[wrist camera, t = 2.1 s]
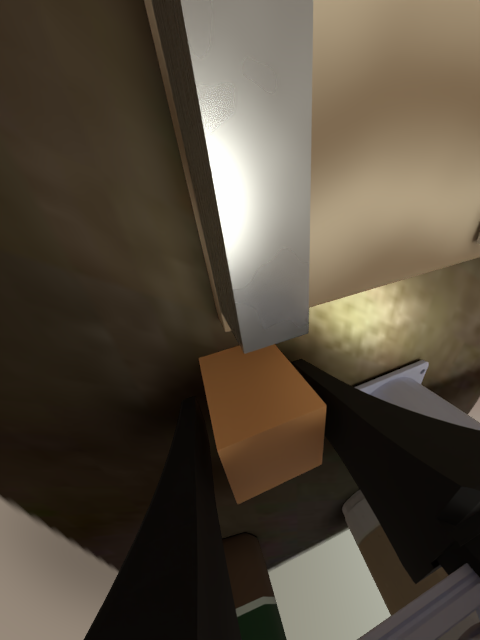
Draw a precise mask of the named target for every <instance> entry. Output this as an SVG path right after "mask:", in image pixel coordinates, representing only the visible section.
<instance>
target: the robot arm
mask: <svg viewBox="0 0 480 640" xmlns="http://www.w3.org/2000/svg"><path fill="white" fill-rule="evenodd" d="M292 365H293V366H294V367H295V369H296V370H297V371H298V372H299V373H300V375H301V376H302V377H303V378H304V379H305V380H306V382H307V383H308V384H309V385H310V386H311V387H312V389H313V390H314V391H315V392H316V393H317V394H318V396H319V397H320V398H321V399H322V400H323V402H324V403H325V404H326V405H327V408H326V420H325V432H324V435H325V436H326V438H327V439H328V440H329V442H330V443H331V444H332V446H333V447H334V449H335V450H336V451H337V453H338V455H339V456H340V458H341V459H342V461H343V463H344V464H345V466H346V467H347V469H348V470H349V472H350V474H351V475H352V477H353V479H354V480H355V482H356V484H357V485H358V487H359V489H360V490H361V492H362V494H363V495H364V497H365V499H366V500H367V502H368V504H369V506H370V507H371V509H372V511H373V513H374V514H375V516H376V518H377V519H378V521H379V523H380V525H381V527H382V528H383V530H384V532H385V534H386V536H387V538H388V539H389V541H390V543H391V545H392V547H393V548H394V550H395V552H396V554H397V556H398V558H399V560H400V562H401V563H402V565H403V567H404V568H405V570H406V571H407V573H408V574H409V576H410V577H411V579H412V580H413V582H414V583H415V584H417V583H418V582H420V581H421V580H423V579H424V578H426V577H427V576H429V575H430V574H432V573H433V572H435V571H436V570H438V569H439V568H440V567H442V568H443V569H444V570H445V571H446V573H447V574H448V575H449V576H447V577H446V578H444V579H443V580H442V581H440V582H439V583H437V584H436V585H434V586H433V587H432V588H430V589H429V590H427V591H426V592H424V593H423V594H422V595H420V596H419V597H417V598H416V599H414V600H413V601H412V602H410V603H409V604H407V605H406V606H404V607H403V608H402V609H400V610H399V611H397V612H396V613H394V614H393V615H392V616H390V617H389V618H388V619H386V620H385V621H383V622H382V623H380V624H379V625H377V626H376V627H374V628H373V629H372V630H370V631H369V632H367V633H366V634H364V635H363V636H362V637H360V638H359V639H357V640H437V639H439V638H440V637H441V636H443V635H444V634H445V633H447V632H448V631H449V630H450V629H452V628H453V627H454V626H456V625H457V624H458V623H459V622H461V621H462V620H463V619H465V618H466V617H467V616H469V615H470V614H471V613H472V612H474V611H475V610H476V613H477V616H478V618H479V621H480V423H479V422H478V421H476V420H475V419H473V418H472V417H470V416H469V415H467V414H466V413H464V412H463V411H461V410H459V409H458V408H456V407H455V406H453V405H452V404H450V403H449V402H447V401H446V400H444V399H443V398H441V397H439V396H438V395H436V394H435V393H433V392H432V391H430V390H429V389H427V388H426V387H424V386H423V385H421V383H422V380H423V378H424V375H425V373H426V370H427V368H428V365H429V364H428V362H426V361H425V360H420V361H418V362H416V363H413V364H411V365H408V366H406V367H403V368H401V369H398V370H396V371H393V372H391V373H388V374H386V375H383V376H381V377H378V378H376V379H374V380H371V381H369V382H366V383H364V384H361V385H359V386H356V387H352V386H350V385H348V384H346V383H344V382H342V381H340V380H339V379H337V378H335V377H333V376H331V375H329V374H327V373H326V372H324V371H322V370H320V369H319V368H317V367H315V366H313V365H312V364H310V363H308V362H306V361H305V360H303V359H299V360H296V361H293V362H292ZM84 640H242V639H241V634H240V629H239V624H238V619H237V614H236V609H235V604H234V599H233V594H232V589H231V584H230V578H229V573H228V568H227V563H226V558H225V552H224V547H223V542H222V536H221V531H220V525H219V520H218V514H217V509H216V502H215V494H214V484H213V475H212V465H211V455H210V446H209V439H208V434H207V430H206V425H205V421H204V418H203V415H202V413H201V410H200V408H199V405H198V402H197V400H196V397H195V396H194V397H191V398H188V399H185V400H183V401H182V402H181V408H180V413H179V418H178V422H177V426H176V430H175V434H174V437H173V441H172V445H171V448H170V451H169V454H168V457H167V460H166V463H165V466H164V469H163V472H162V475H161V478H160V481H159V483H158V486H157V488H156V491H155V494H154V496H153V499H152V501H151V504H150V506H149V508H148V511H147V513H146V515H145V517H144V520H143V522H142V524H141V527H140V529H139V531H138V533H137V536H136V538H135V540H134V542H133V544H132V546H131V549H130V551H129V553H128V555H127V557H126V559H125V561H124V563H123V565H122V567H121V569H120V571H119V573H118V575H117V577H116V579H115V581H114V583H113V585H112V587H111V589H110V591H109V593H108V595H107V597H106V599H105V601H104V603H103V605H102V607H101V608H100V610H99V612H98V614H97V616H96V618H95V620H94V621H93V623H92V625H91V627H90V629H89V631H88V633H87V634H86V636H85V638H84ZM457 640H480V622H478V623H476V624H474V625H473V626H471V627H470V628H469V629H467V630H466V631H465V632H464V633H463V634H462V635H461V636H460V637H459V638H458V639H457Z"/></svg>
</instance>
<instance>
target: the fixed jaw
mask: <svg viewBox="0 0 480 640" xmlns="http://www.w3.org/2000/svg"><path fill="white" fill-rule="evenodd" d="M151 1H152V6H153V10H154V15H155V19H156V24H157V28H158V33H159V37H160V41H161V46H162V50H163V55H164V59H165V64H166V68H167V73H168V77H169V82H170V86H171V91H172V95H173V100H174V104H175V109H176V113H177V117H178V122H179V126H180V131H181V135H182V140H183V144H184V149H185V153H186V158H187V162H188V167H189V171H190V176H191V180H192V185H193V189H194V193H195V198H196V202H197V207H198V211H199V216H200V220H201V225H202V229H203V234H204V238H205V243H206V247H207V252H208V256H209V261H210V265H211V270H212V274H213V278H214V283H215V287H216V292H217V296H218V301H219V305H220V310H221V313H222V314H223V316H224V318H225V320H226V322H227V323H228V325H229V327H230V329H231V331H232V332H233V334H234V336H235V338H236V340H237V341H238V343H239V345H240V347H241V349H242V350H243V352H244V354H246V353H249V352H252V351H255V350H258V349H261V348H264V347H267V346H270V345H273V344H277V343H280V342H283V341H286V340H289V339H292V338H295V337H298V336H301V335H304V334H307V333H308V328H309V261H310V194H311V127H312V60H313V0H151Z"/></svg>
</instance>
